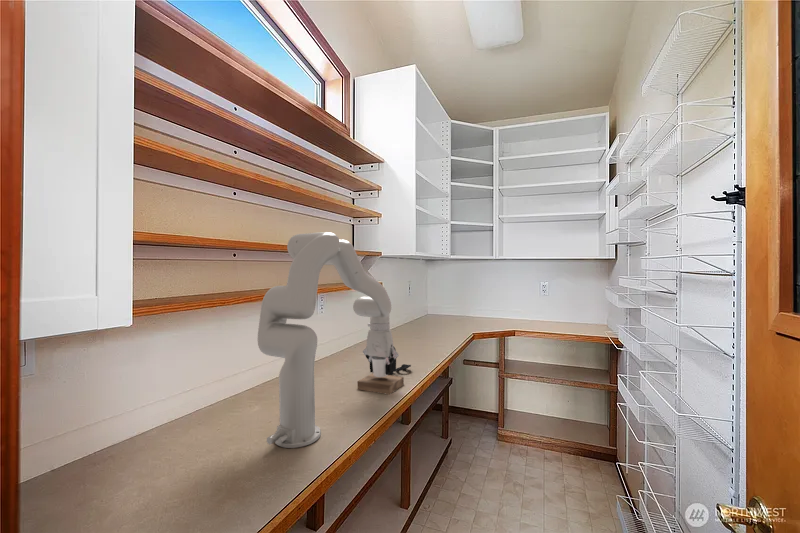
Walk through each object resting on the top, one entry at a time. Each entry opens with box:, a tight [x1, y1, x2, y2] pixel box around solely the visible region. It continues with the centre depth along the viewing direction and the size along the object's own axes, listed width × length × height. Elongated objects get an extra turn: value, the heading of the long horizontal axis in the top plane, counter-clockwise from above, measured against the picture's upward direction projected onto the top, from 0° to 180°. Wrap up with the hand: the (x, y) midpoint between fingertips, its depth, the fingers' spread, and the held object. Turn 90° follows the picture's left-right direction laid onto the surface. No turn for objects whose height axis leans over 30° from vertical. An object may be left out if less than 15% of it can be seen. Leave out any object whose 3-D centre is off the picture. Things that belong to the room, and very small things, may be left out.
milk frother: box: [388, 345, 412, 375], centre depth 162 cm, size 14×16×15 cm
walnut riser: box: [357, 372, 405, 395], centre depth 143 cm, size 12×14×3 cm
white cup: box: [372, 356, 387, 377], centre depth 143 cm, size 7×7×7 cm
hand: (380, 372), depth 143 cm, fingers closed on white cup, 6 cm apart
